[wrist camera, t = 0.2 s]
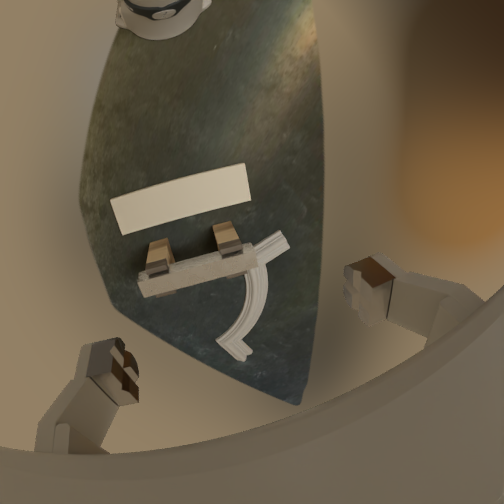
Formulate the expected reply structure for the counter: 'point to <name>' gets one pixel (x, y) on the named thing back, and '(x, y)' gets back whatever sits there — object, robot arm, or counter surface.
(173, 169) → the counter surface
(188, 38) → the counter surface
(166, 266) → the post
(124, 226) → the plank
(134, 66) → the counter surface
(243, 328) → the molding
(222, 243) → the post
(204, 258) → the rail
